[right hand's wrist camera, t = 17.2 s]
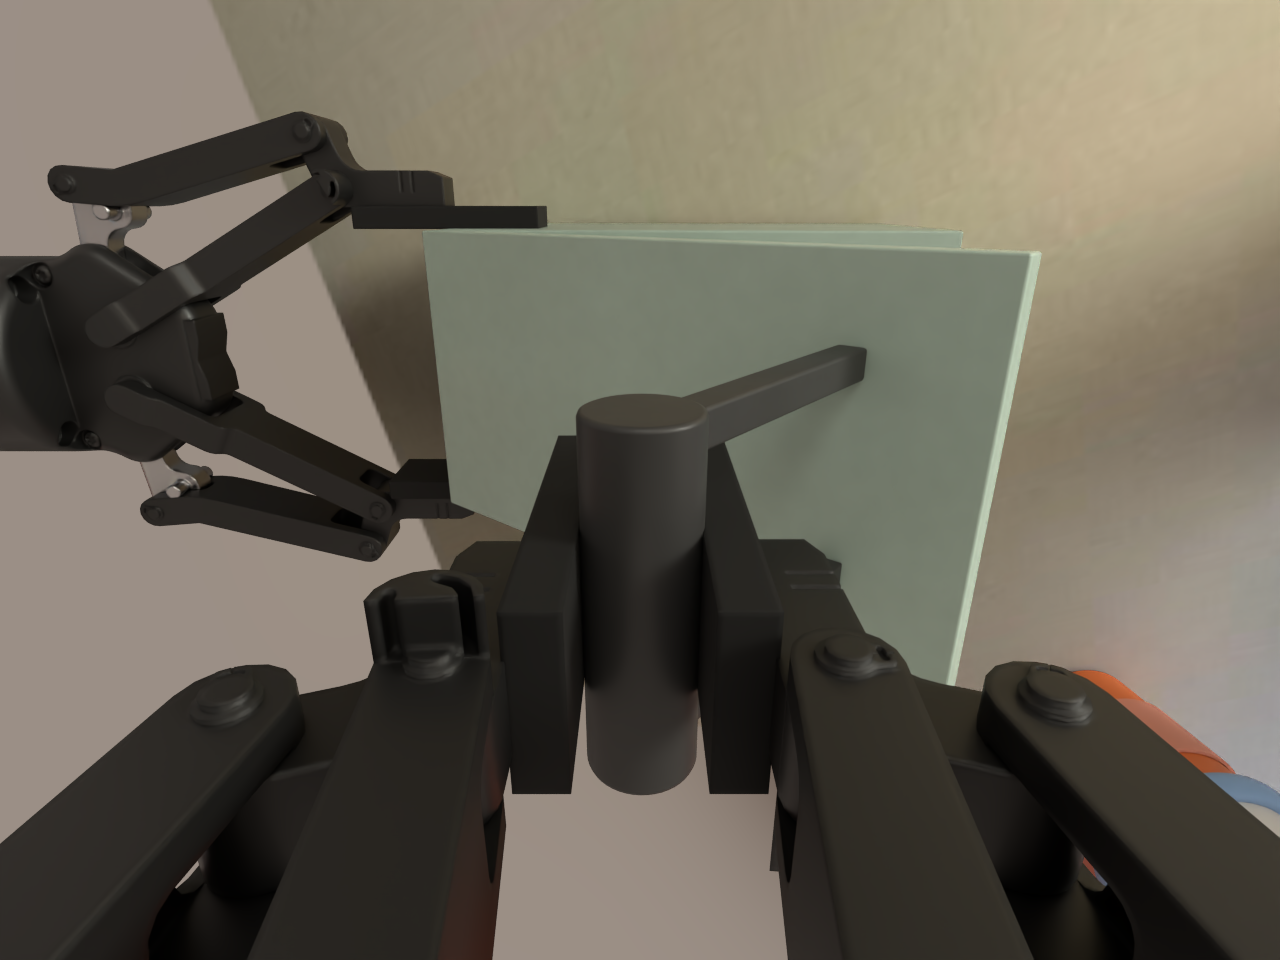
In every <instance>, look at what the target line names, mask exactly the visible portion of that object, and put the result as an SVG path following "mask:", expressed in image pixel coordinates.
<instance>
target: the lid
mask: <svg viewBox="0 0 1280 960" xmlns="http://www.w3.org/2000/svg"><path fill="white" fill-rule="evenodd" d="M422 236H423V245H424V254H425V264H426V273H427V282H428V292H429V301H430V310H431V320H432V329H433V338H434V348H435V357H436V366H437V375H438V385H439V394H440V403H441V413H442V422H443V431H444V441H445V450H446V459H447V468H448V478H449V487H450V496H451V502H452V503H454V504H457V505H459V506H462V507H464V508H467V509H469V510H471V511H474V512H476V513H479V514H481V515H484V516H486V517H489V518H491V519H494V520H496V521H498V522H501V523H503V524H506V525H508V526H511V527H513V528H516V529H518V530H521V531H523V532H525V529H526V526H527V523H528V521H529V518H530V515H531V512H532V509H533V506H534V503H535V501H536V498H537V495H538V492H539V489H540V486H541V483H542V481H543V478H544V475H545V472H546V469H547V466H548V464H549V461H550V458H551V455H552V452H553V449H554V446H555V444H556V441H557V438H558V435H576V440H577V469H578V498H579V527H580V556H581V585H582V614H583V643H584V672H585V700H586V729H587V756H588V761H589V764H590V767H591V768H592V770H593V772H594V773H595V775H596V776H597V777H598V778H599V779H600V780H601V781H602V782H603V783H604V784H606V785H607V786H609V787H611V788H612V789H615V790H617V791H620V792H623V793H627V794H632V795H651V794H657V793H661V792H664V791H667V790H669V789H671V788H673V787H675V786H677V785H678V784H680V783H681V782H682V781H683V780H684V779H685V778H686V777H687V776H688V775H689V773H690V772H691V770H692V768H693V766H694V764H695V761H696V750H697V724H698V719H699V718H700V717H701V715H700V707H699V698H698V689H697V686H698V659H699V632H700V605H701V578H702V551H703V532H704V529H705V515H706V488H707V462H708V449H711V448H713V447H715V446H717V445H719V444H722V443H724V442H725V445H726V447H727V450H728V453H729V456H730V459H731V462H732V464H733V467H734V470H735V473H736V476H737V479H738V482H739V484H740V487H741V490H742V493H743V496H744V499H745V501H746V504H747V507H748V510H749V513H750V516H751V519H752V521H753V524H754V527H755V530H756V533H757V536H758V538H759V539H805V540H806V541H807V542H809V543H810V544H811V545H813V546H814V547H816V548H817V549H818V550H820V551H821V552H823V553H824V554H825V556H826V558H827V560H828V562H829V564H830V566H831V567H832V569H833V574H835V575H836V577H837V579H838V581H839V583H840V585H841V589H843V590H844V592H845V594H846V596H847V598H848V600H849V602H850V604H851V606H852V608H853V609H854V611H855V613H856V615H857V617H858V619H859V621H860V623H861V625H862V627H863V629H864V630H865V632H866V633H868V634H870V635H873V636H876V637H878V638H881V639H882V640H883V641H885V642H886V643H888V644H889V645H891V646H892V647H894V648H895V649H897V651H898V652H899V653H900V655H901V656H902V657H903V659H904V660H905V661H906V663H907V665H908V668H909V670H910V672H911V674H912V675H915V676H917V677H919V678H922V679H926V680H930V681H933V682H937V683H941V684H946V685H951V686H955V682H956V677H957V672H958V667H959V662H960V657H961V652H962V647H963V642H964V637H965V632H966V627H967V622H968V617H969V612H970V607H971V602H972V597H973V592H974V587H975V582H976V578H977V573H978V568H979V563H980V558H981V553H982V548H983V543H984V538H985V533H986V528H987V523H988V518H989V513H990V508H991V503H992V498H993V493H994V488H995V483H996V478H997V473H998V468H999V463H1000V458H1001V453H1002V448H1003V443H1004V439H1005V434H1006V429H1007V424H1008V419H1009V414H1010V409H1011V404H1012V399H1013V394H1014V389H1015V384H1016V379H1017V374H1018V369H1019V364H1020V359H1021V354H1022V349H1023V344H1024V339H1025V334H1026V329H1027V324H1028V319H1029V314H1030V309H1031V304H1032V299H1033V295H1034V290H1035V285H1036V280H1037V275H1038V270H1039V265H1040V260H1041V252H1039V251H1026V250H998V249H969V248H941V247H912V246H883V245H855V244H826V243H798V242H769V241H741V240H712V239H684V238H655V237H627V236H598V235H570V234H541V233H513V232H484V231H456V230H426V231H422Z"/></svg>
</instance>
